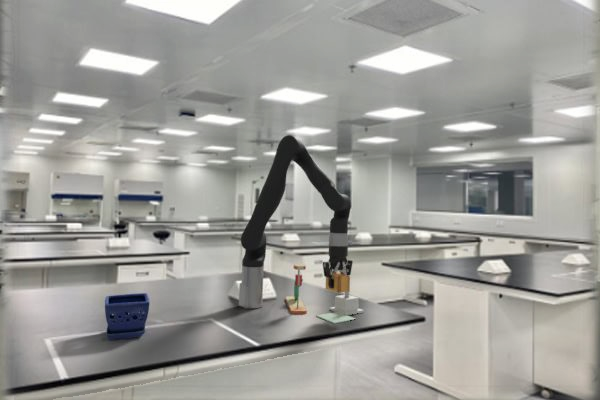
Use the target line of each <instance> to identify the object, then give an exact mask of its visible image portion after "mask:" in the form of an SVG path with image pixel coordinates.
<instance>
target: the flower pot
mask: <svg viewBox="0 0 600 400" xmlns="http://www.w3.org/2000/svg"><path fill="white" fill-rule="evenodd" d="M149 311H150V298H149V296H148V293H147V292H141V293H126V294H115V295H107V296H106V297H105V299H104V313H105V321H106V323H107V328H106V332H105V336H106V338H107V339H108V340H112V341H113V340H120V339H121V340H122V339H132V338H139V337H142V336H144V334H145V332H146V322H147V319H148V316H149Z"/></svg>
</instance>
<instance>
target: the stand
mask: <svg viewBox="0 0 600 400" xmlns="http://www.w3.org/2000/svg"><path fill="white" fill-rule="evenodd" d="M350 285H351V282H350V283H349V291H348V292H344V294H340V295H335V296H334V306H331V307H329V310H330V311H331V312H333V313H334V312H339V313H342V314H345V315H347V316H351V315H352V314H353V315H358V314H363V313H364V311H365V310H364V309H362V308H359V303H360V302H359V301H360V299H359V298H360V297H357V296H354V295H350V292H351V291H350V290H351V289H350ZM357 313H358V314H357Z"/></svg>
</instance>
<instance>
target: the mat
mask: <svg viewBox="0 0 600 400" xmlns="http://www.w3.org/2000/svg"><path fill="white" fill-rule="evenodd" d="M316 317H318V318H319V319H321V320H324V321H327V322H329V323H331V324H333V325H335V324H340V323H345V322H350V320H352V321H355V320H354V319H356V320H357V318H355V317H353V316H351V315H345V314H342V313H339V312H334V311H333V312H328V313H323V314H322V313H321V314H317V315H316Z"/></svg>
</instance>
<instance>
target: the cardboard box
mask: <svg viewBox="0 0 600 400" xmlns="http://www.w3.org/2000/svg"><path fill="white" fill-rule="evenodd" d="M328 281H329V279H328V277H325V290H328V291H332V292H335V293H338V294H340V293H345V292H348V291H349V283H350V284H351V277H350V275H344V274H340V272H337V273H336V274H335V276H334V288H329V286H328Z"/></svg>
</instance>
